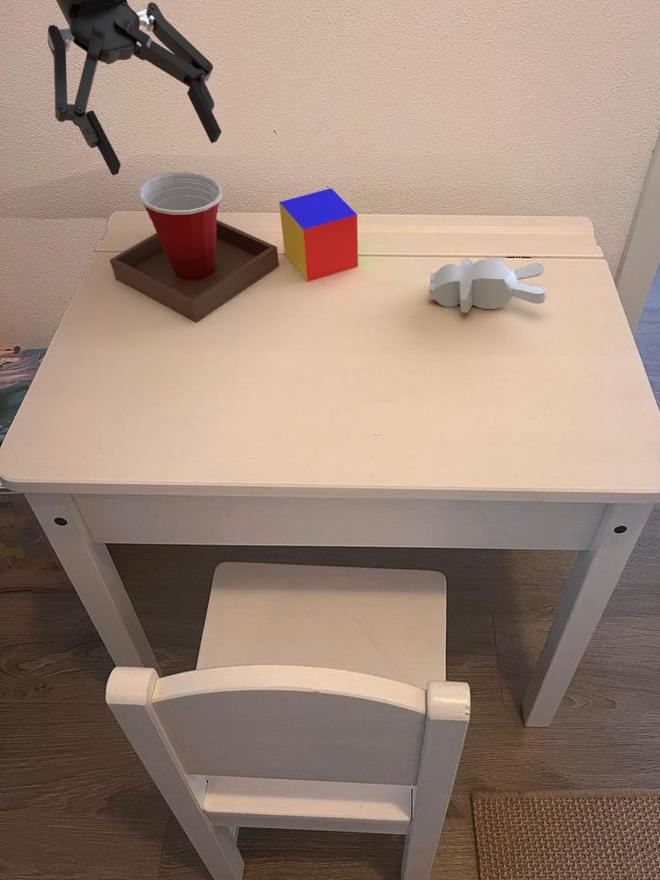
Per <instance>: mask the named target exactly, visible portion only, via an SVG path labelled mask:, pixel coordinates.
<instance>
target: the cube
mask: <svg viewBox="0 0 660 880" xmlns="http://www.w3.org/2000/svg"><path fill="white" fill-rule="evenodd" d="M279 214H280V222H281V223H280V224H281V232H282V242H283V251H284V255H285V256H286V257H287V258H288V260H289V261H290V262H291V263H292V265H293V266H294V267H295V269H296V270H297V271H298V272H299V273H300V274H301V276H302V277H303V278H304V279H305V281H306V282H311V281H314V280H318V279H321V278H324V277H328V276H330V275H333V274H336V273H340V272H343V271H346V270H350V269H353V268H357V267H359V243H358V240H359V239H358V238H359V237H358V214H357V212H356V211H355V210H354V209H352V208H351V207H350V205H349V204H347V202H346V201H345V200H344V199H343V198H341V196H340V195H339V194H338V193H337V192H336V191H335V190H334V189H333V188H332V187H330V188H326V189H322V190H319V191H315V192H312V193H311V192H310V193H308V194H304V195H299V196H297V197H292V198H290V199H286V200H282V201H281V200H280V201H279Z"/></svg>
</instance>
